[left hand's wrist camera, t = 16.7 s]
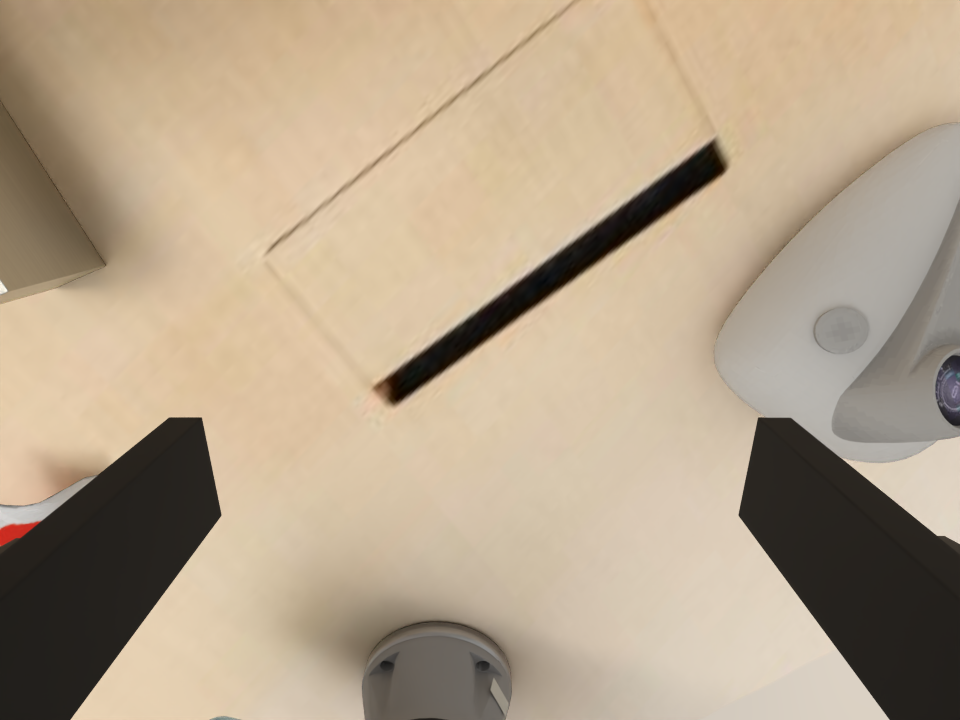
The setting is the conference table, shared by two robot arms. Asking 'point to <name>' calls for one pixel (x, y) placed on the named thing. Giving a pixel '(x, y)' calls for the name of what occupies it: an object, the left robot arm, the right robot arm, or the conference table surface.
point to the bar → (35, 224)
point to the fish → (33, 512)
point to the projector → (862, 312)
